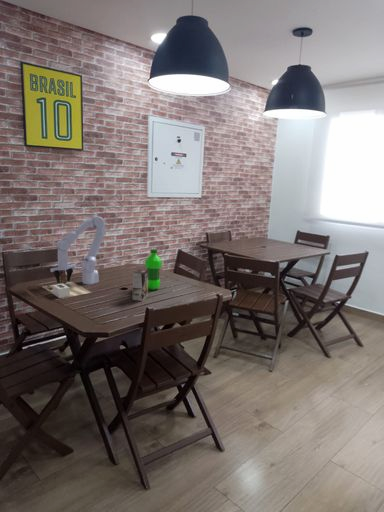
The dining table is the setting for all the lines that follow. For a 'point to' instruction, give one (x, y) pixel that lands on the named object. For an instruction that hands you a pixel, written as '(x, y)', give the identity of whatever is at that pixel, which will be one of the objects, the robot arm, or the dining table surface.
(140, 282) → the coffee box
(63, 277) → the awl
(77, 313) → the dining table surface
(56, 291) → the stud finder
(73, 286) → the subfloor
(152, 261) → the plastic bottle
